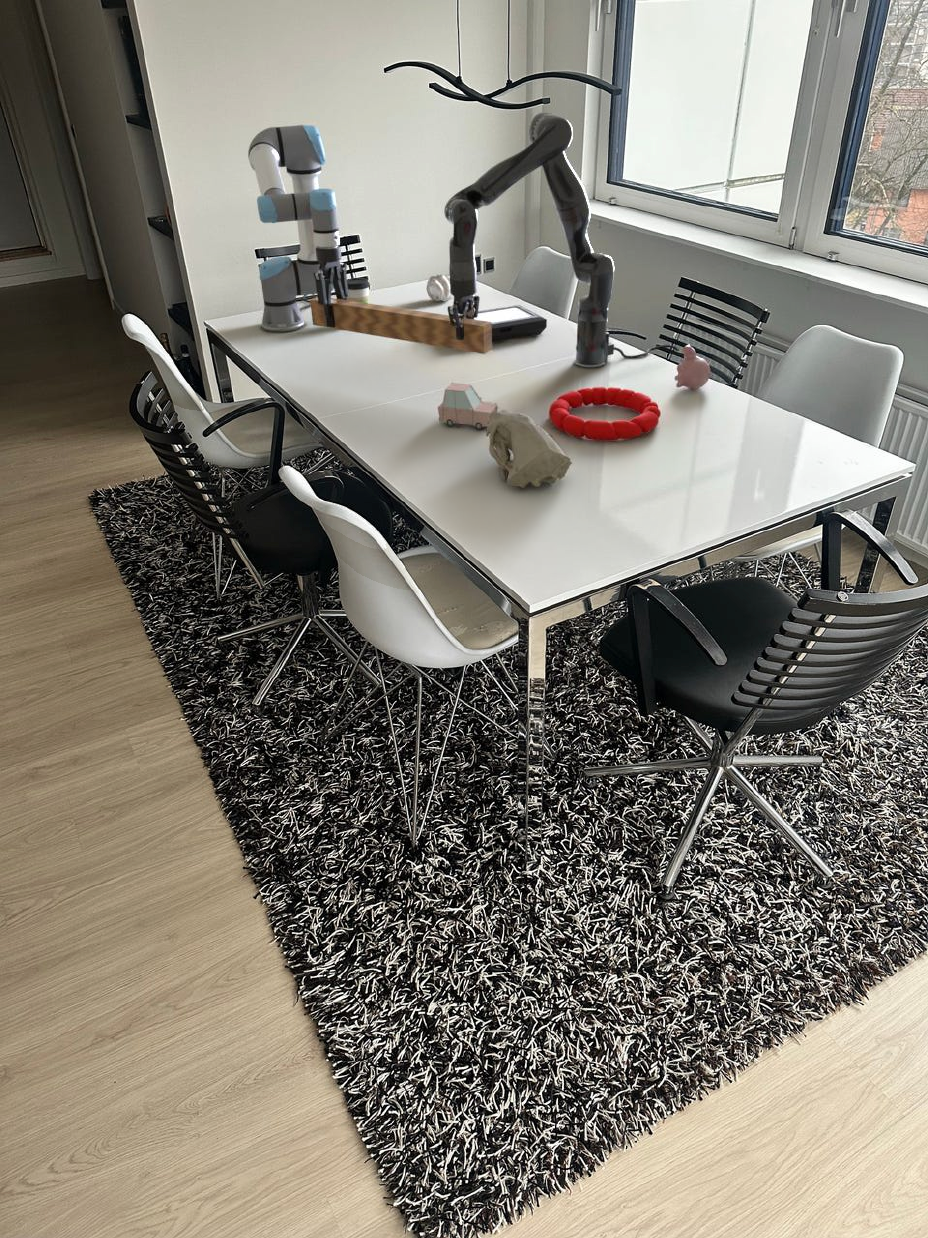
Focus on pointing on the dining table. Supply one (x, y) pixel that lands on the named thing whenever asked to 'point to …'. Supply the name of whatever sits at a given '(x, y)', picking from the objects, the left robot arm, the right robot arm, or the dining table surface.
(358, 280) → the coffee cup
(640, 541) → the dining table surface
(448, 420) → the toy car
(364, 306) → the bar
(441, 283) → the seashell
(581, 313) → the right robot arm
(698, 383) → the figurine
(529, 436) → the animal skull
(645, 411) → the decorative ring
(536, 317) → the electronic device
